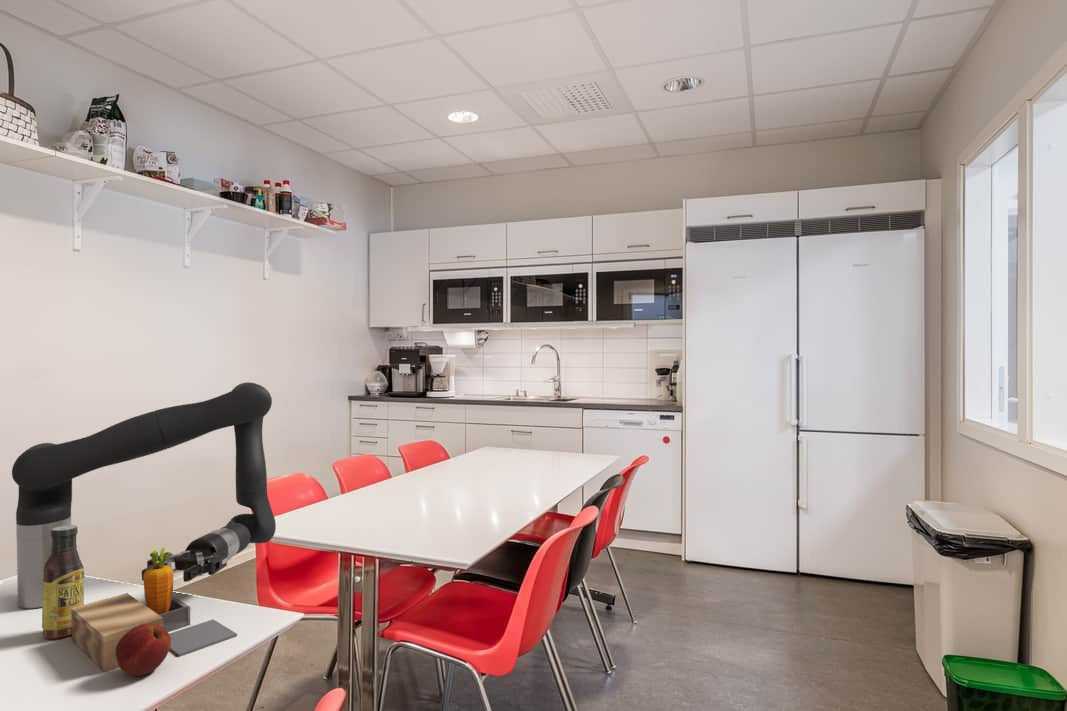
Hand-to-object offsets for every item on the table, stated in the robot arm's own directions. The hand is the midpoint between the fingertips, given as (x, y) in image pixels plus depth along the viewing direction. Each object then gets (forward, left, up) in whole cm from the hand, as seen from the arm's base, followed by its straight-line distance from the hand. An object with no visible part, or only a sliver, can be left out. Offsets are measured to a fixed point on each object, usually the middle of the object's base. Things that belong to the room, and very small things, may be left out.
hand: (164, 576), depth 122 cm
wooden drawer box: (+4, -6, -9) cm, 11 cm away
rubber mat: (+12, +1, -9) cm, 15 cm away
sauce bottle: (-10, -14, -9) cm, 19 cm away
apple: (+18, -10, -9) cm, 22 cm away
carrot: (+1, -1, -9) cm, 9 cm away
